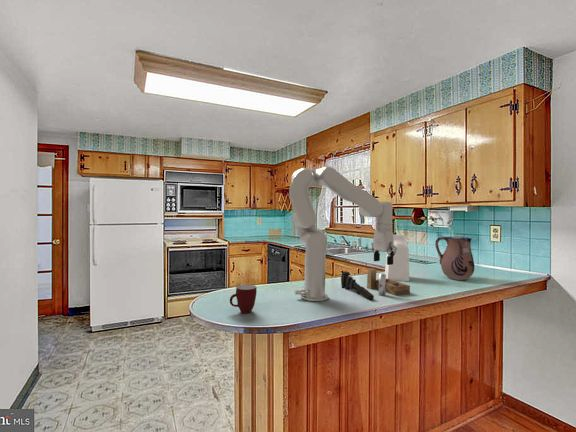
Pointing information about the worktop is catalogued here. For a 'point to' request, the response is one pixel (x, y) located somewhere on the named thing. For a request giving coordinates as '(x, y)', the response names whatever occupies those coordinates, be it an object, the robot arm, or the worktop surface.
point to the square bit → (371, 278)
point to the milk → (399, 261)
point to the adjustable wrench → (354, 285)
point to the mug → (245, 297)
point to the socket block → (395, 287)
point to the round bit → (382, 284)
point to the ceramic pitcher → (456, 258)
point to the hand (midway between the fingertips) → (383, 262)
